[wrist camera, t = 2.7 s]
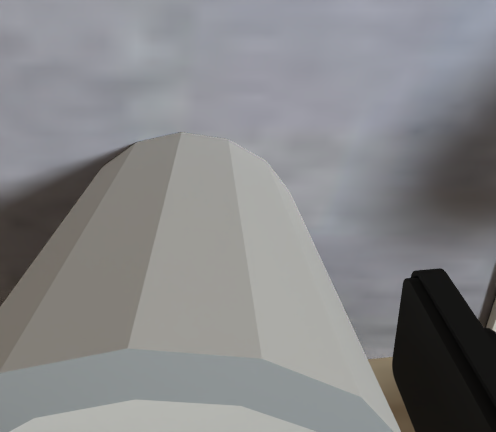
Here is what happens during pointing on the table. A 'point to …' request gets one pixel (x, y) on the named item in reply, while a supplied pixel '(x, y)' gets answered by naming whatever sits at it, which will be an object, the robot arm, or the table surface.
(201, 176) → the light grey cup
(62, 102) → the table surface
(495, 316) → the push button plate
